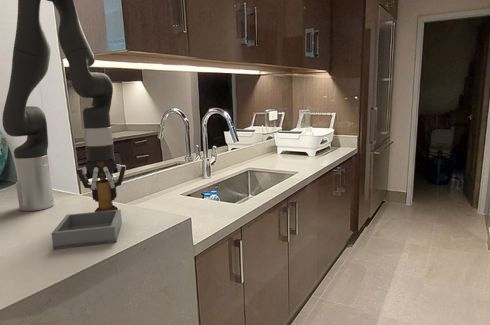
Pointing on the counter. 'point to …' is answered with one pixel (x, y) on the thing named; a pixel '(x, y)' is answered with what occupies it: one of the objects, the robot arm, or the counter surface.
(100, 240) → the tray
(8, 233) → the counter surface
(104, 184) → the turned wooden knob
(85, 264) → the counter surface
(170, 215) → the counter surface
